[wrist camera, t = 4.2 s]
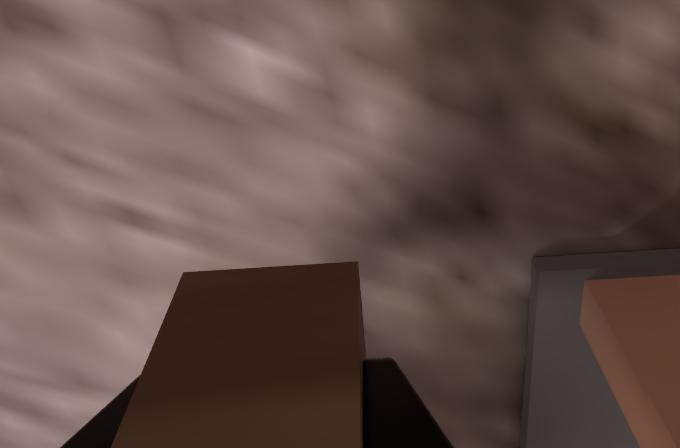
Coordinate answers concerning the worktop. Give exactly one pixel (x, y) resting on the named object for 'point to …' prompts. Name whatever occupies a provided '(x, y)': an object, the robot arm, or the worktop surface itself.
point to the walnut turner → (255, 362)
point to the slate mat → (575, 352)
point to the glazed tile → (639, 350)
